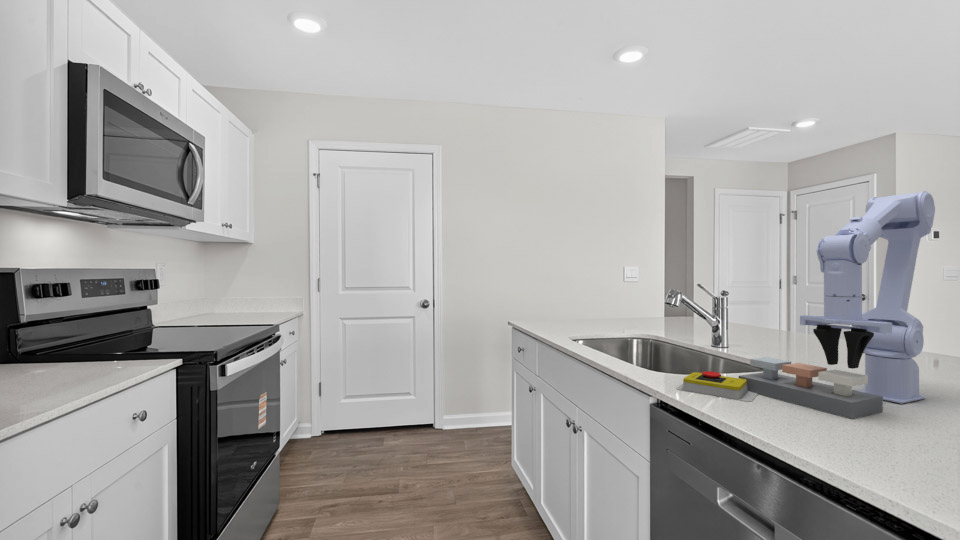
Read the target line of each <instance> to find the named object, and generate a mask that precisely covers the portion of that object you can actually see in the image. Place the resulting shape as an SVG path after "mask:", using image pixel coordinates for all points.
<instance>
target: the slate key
mask: <svg viewBox="0 0 960 540" xmlns="http://www.w3.org/2000/svg"><path fill="white" fill-rule="evenodd" d="M786 364H792V361H789V360H784V359H779V358H773V357H769V356H764V357H763V356H762V357H754V358H750V366H751V367H756V368H761V369H762V371H763V378H768V379H772V380H774V379H778V374H779V371H782V365H786Z"/></svg>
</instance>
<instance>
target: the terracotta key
mask: <svg viewBox="0 0 960 540" xmlns="http://www.w3.org/2000/svg"><path fill="white" fill-rule="evenodd" d="M822 371H828V368H827V367H822V366H817V365H814V364H813V365H811V364H806V363H801V362H797V363H796V362H795V363H791V364H786V365H782V370H781V373H786V374H789V375H794V376H795V378H796V385H798V386H803V387H812V381H813V378H818V372H822Z"/></svg>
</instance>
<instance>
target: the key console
mask: <svg viewBox="0 0 960 540" xmlns="http://www.w3.org/2000/svg"><path fill="white" fill-rule="evenodd" d="M738 378H740V379H746V380H747V390H748V391H750V392H754V393H757V394H758V395H759V396H764V397H768V398H771V399H775V400H779V401H783V402H786V403H790V404H792V405H793V404H794V405H797V406H801V407H805V408H809V409H812V410H817V411H820V412H823V413H828V414H831V415H835V416H839V417H842V418H846V419H850V420H854V419H859V418H863V417H866V416H871V415H875V414H881V413H883V411H884V410H883V409H884V405H883V401H884V400H883V396H879V395H874V394H869V393H865V392H860V391H861V390H854V389H852V396H842V395H838V394H834V385H831V384H826V383H822V382H818V381H813V380H812V387H803V386H798V385H796V376H795V377H794V376H789V375H785V374H780V373H778V379H774V380H772V379H768V378H763V372H756V373H748V374H743V375H738Z"/></svg>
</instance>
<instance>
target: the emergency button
mask: <svg viewBox="0 0 960 540" xmlns="http://www.w3.org/2000/svg"><path fill="white" fill-rule="evenodd" d="M676 390H677V391H682V392H687V393H693V394H699V395H703V396H705V395H706V396H711V397H717V398H721V399H727V400H728V399H729V400H735V401H739V402H746V403H751V402H752V403H753V401H754V400H755V399H756V398H757V397H758V395H759V394H757V393H754V392H750V391H748V390H747V380H746V379H740V378H739V377H733V376H725V375H722V374H721V373H719V372H717V371H702V372H697V371H695V372H694V371H693V372H691V373H690V374H688V375H686V376H684V377H683V382H682V384H680V385H678V386H677V387H676Z"/></svg>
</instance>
